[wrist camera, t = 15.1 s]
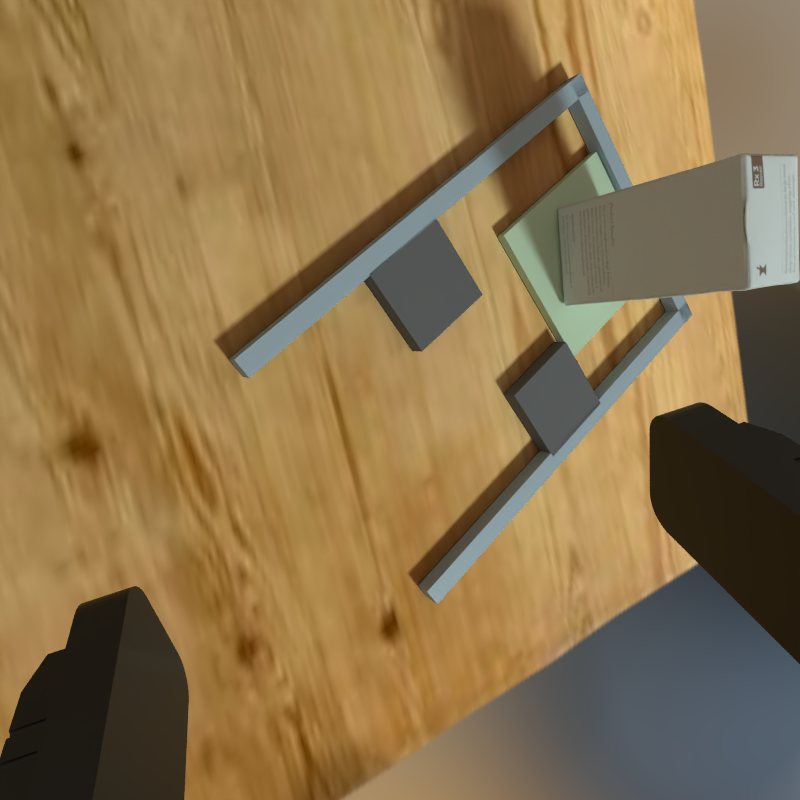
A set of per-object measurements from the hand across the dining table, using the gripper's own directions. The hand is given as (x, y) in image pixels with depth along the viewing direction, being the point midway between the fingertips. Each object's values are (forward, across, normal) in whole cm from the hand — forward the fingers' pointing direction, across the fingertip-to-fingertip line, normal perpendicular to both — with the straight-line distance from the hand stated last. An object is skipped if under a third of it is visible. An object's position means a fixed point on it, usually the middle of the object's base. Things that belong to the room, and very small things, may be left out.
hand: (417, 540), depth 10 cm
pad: (+28, -18, +7) cm, 34 cm away
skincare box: (+28, -17, +7) cm, 33 cm away
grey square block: (+25, -6, +5) cm, 26 cm away
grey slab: (+25, -13, +14) cm, 31 cm away
